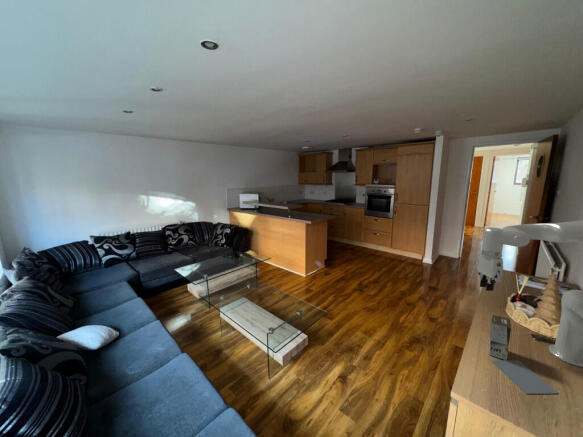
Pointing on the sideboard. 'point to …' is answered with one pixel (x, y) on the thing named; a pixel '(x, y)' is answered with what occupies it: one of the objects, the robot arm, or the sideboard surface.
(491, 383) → the sideboard surface
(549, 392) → the felt mat
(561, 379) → the sideboard surface
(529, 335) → the sideboard surface
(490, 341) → the coffee box
